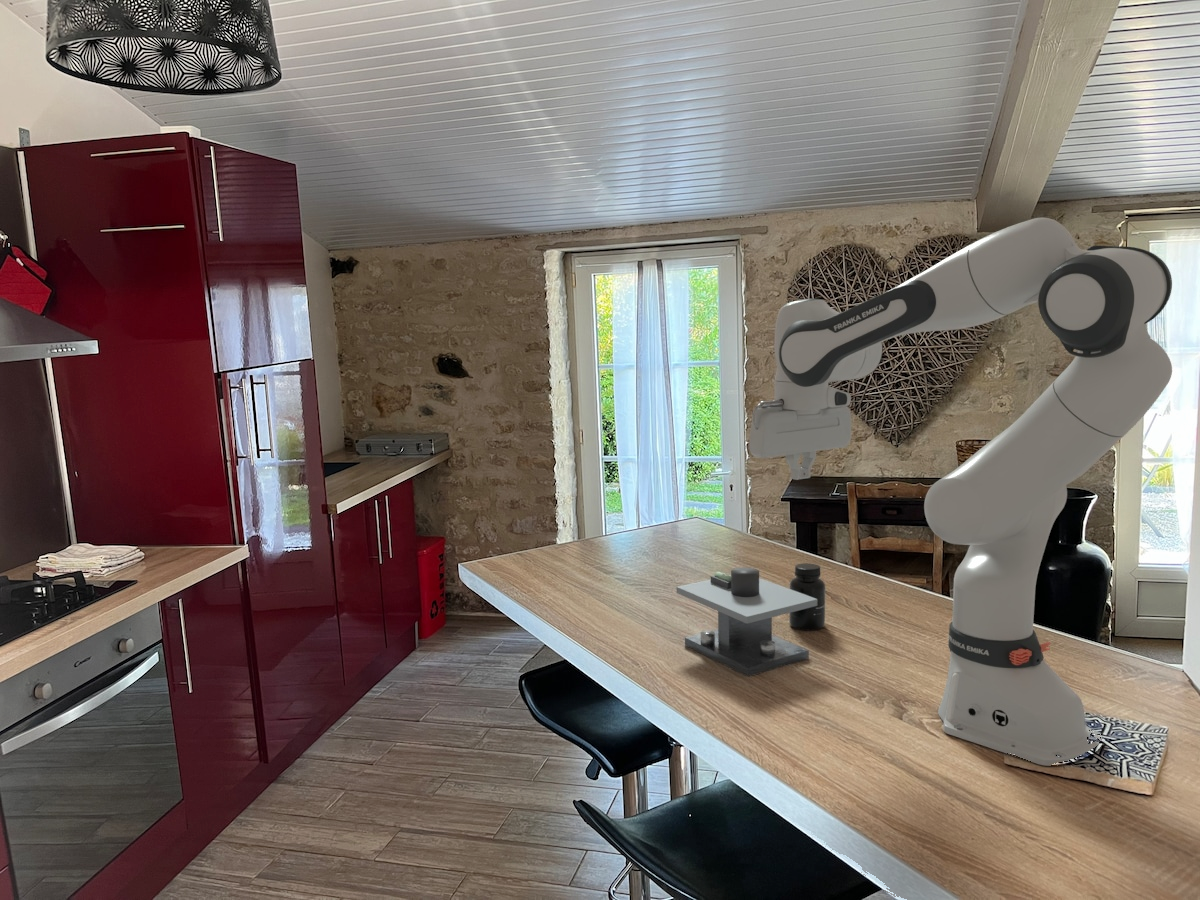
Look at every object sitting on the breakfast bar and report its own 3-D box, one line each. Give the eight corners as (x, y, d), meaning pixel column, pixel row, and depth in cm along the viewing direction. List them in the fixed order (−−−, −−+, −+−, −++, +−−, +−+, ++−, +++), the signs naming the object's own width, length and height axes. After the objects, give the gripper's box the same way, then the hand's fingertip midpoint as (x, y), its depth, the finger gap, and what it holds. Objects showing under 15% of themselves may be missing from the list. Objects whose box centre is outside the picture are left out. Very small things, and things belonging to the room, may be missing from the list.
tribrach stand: (808, 658, 165) (809, 610, 164) (747, 676, 158) (747, 625, 157) (743, 630, 181) (742, 585, 179) (684, 645, 174) (684, 599, 172)
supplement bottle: (825, 632, 179) (826, 571, 177) (789, 630, 180) (789, 570, 178) (824, 620, 185) (824, 561, 183) (789, 619, 187) (789, 561, 185)
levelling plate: (817, 608, 164) (817, 577, 163) (746, 627, 156) (747, 593, 155) (743, 581, 181) (743, 552, 180) (676, 596, 172) (676, 565, 172)
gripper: (766, 403, 148) (766, 488, 150) (858, 394, 158) (857, 474, 161) (740, 400, 153) (741, 483, 155) (831, 392, 164) (830, 469, 166)
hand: (800, 478), depth 158 cm, fingers closed
